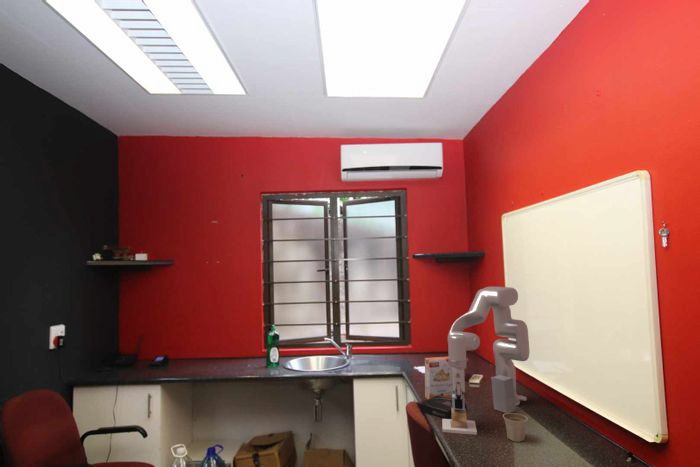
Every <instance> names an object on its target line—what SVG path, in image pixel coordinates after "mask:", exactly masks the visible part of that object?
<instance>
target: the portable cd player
mask: <svg viewBox="0 0 700 467" xmlns="http://www.w3.org/2000/svg"><path fill="white" fill-rule="evenodd" d="M418 405H419V407H420V409H421V411H422V412H421V413H424V414H427V415H430V416H433V417H435V418H436V417H437V418H438V419H441V420H442V419H452V409H451V408H453V407H452V399H448V398H444V397H440V396H435V397H433V398H430V399H427V398H426V399H425V400H422V401H420V402H418V403H417V406H418ZM465 409H466V411H467V410H468V408H467V403H466V402H465Z"/></svg>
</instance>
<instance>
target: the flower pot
mask: <svg viewBox="0 0 700 467" xmlns="http://www.w3.org/2000/svg"><path fill="white" fill-rule="evenodd" d="M502 417H503V421H504V423H505V429H506V437H507V439H508V440H510V441H512V442H518V443H520V442H524V440H525V433H526V426H527V422H528V417H527V416H526V415H523V414H521V413H515V412H511V413H503V415H502Z"/></svg>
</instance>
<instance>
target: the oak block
mask: <svg viewBox="0 0 700 467" xmlns="http://www.w3.org/2000/svg"><path fill="white" fill-rule="evenodd" d="M451 409H452V418H451V419H452V427H461V428H467V422H466V420H467V410H466V409H465V410H458V409H453V408H451Z"/></svg>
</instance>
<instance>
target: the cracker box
mask: <svg viewBox="0 0 700 467" xmlns="http://www.w3.org/2000/svg"><path fill="white" fill-rule="evenodd" d="M452 394H454V390H453V384H452V368H450V367H449V357H447V356H438V357H436V356H435V357H424V398H425V399H426V400H427V399H430V398H433V397H435V396H440V397H444V398H448V399H452Z"/></svg>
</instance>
